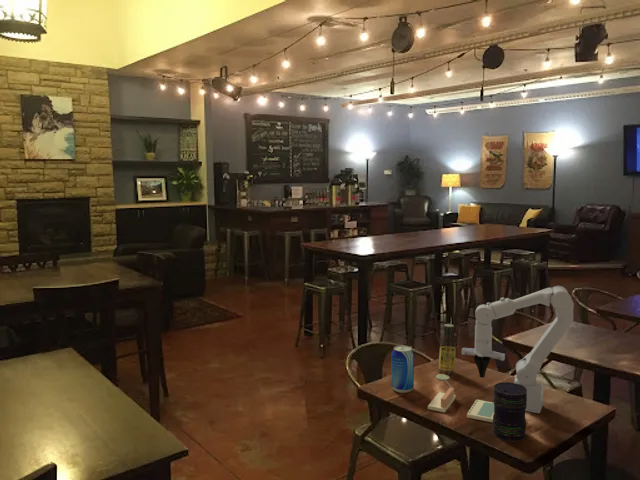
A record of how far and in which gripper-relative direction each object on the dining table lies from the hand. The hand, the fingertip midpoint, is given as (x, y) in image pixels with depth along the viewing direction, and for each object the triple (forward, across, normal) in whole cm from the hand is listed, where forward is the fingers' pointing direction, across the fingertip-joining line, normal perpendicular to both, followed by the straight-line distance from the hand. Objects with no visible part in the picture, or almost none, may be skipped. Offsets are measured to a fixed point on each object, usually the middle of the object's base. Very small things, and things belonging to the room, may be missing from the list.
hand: (482, 376), depth 197 cm
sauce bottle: (+10, -19, +22) cm, 31 cm away
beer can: (+10, -29, -2) cm, 31 cm away
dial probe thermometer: (+10, -16, +12) cm, 22 cm away
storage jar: (+10, +13, -20) cm, 26 cm away
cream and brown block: (+9, -12, -8) cm, 17 cm away
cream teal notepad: (+9, +3, -8) cm, 13 cm away
